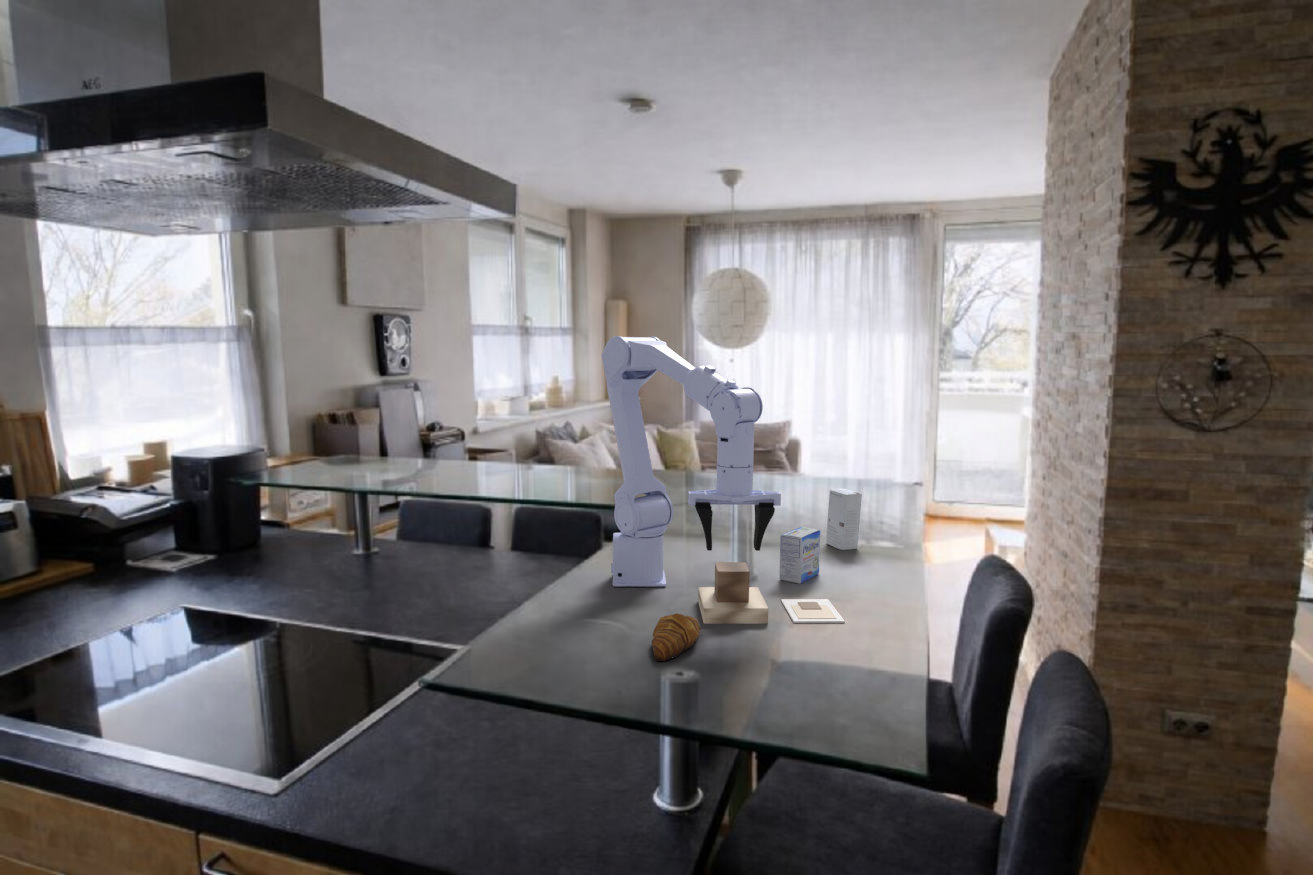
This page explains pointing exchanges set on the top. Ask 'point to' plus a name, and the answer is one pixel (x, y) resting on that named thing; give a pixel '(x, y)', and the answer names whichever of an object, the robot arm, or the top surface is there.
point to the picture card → (812, 611)
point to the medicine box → (799, 555)
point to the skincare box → (843, 518)
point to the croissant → (674, 636)
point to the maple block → (732, 608)
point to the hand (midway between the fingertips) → (733, 548)
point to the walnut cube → (731, 582)
